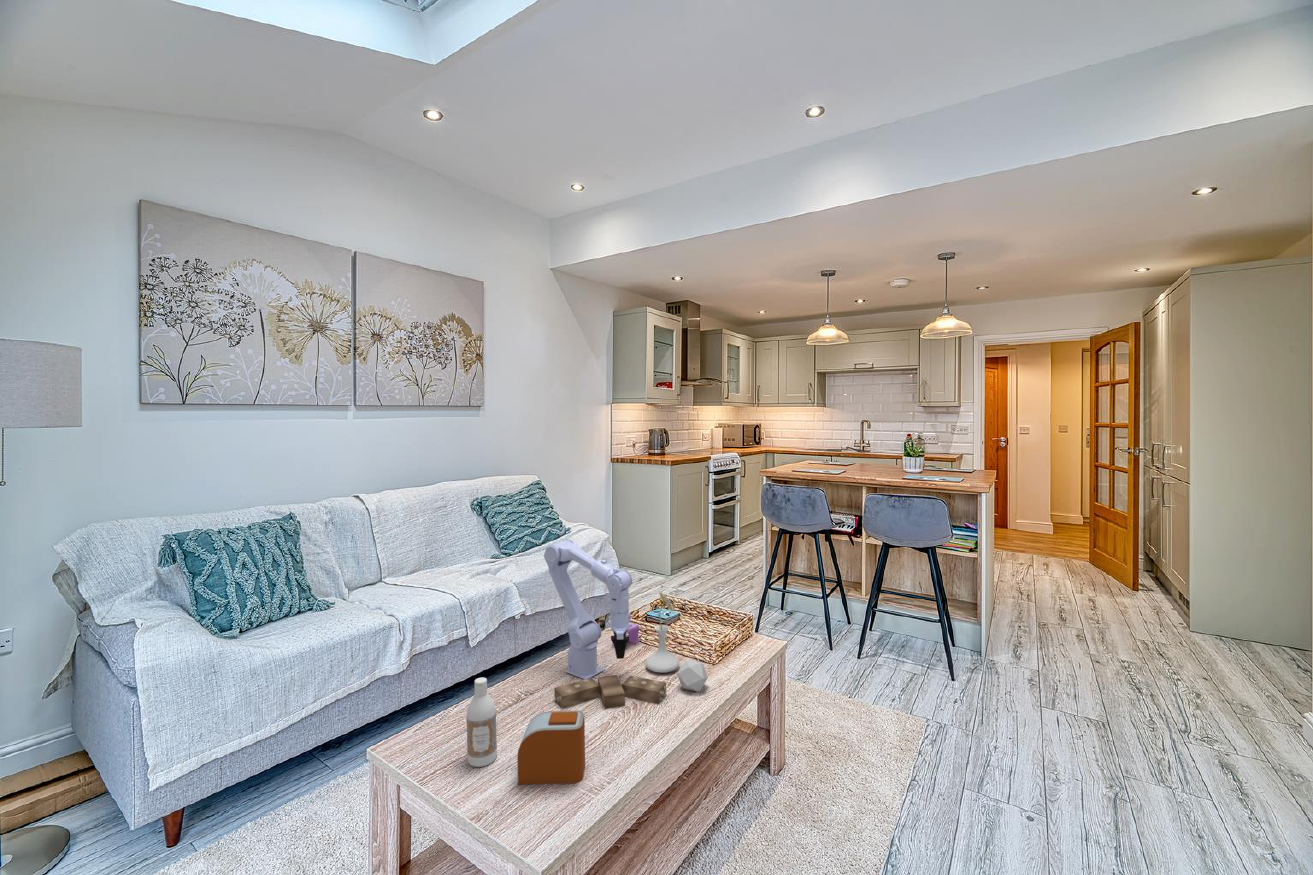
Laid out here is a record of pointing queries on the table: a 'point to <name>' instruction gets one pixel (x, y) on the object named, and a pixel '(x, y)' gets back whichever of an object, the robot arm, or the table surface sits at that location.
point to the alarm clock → (553, 749)
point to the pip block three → (576, 693)
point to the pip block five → (644, 689)
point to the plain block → (611, 692)
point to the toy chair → (632, 632)
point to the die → (692, 675)
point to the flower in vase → (662, 647)
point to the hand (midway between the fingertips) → (620, 652)
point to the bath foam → (481, 727)
